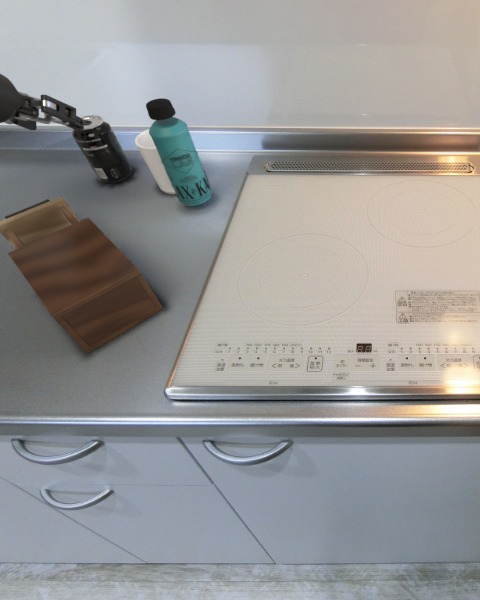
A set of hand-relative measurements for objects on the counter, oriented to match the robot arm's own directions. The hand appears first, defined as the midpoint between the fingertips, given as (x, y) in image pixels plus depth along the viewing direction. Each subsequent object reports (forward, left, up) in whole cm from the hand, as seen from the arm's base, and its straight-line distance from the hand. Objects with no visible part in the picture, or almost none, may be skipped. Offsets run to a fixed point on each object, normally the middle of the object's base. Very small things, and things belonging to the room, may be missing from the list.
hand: (58, 125), depth 77 cm
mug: (+7, +13, -15) cm, 21 cm away
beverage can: (-4, +5, -15) cm, 17 cm away
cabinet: (+29, -12, -15) cm, 34 cm away
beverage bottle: (+17, +12, -15) cm, 25 cm away
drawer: (+15, -12, -14) cm, 23 cm away
